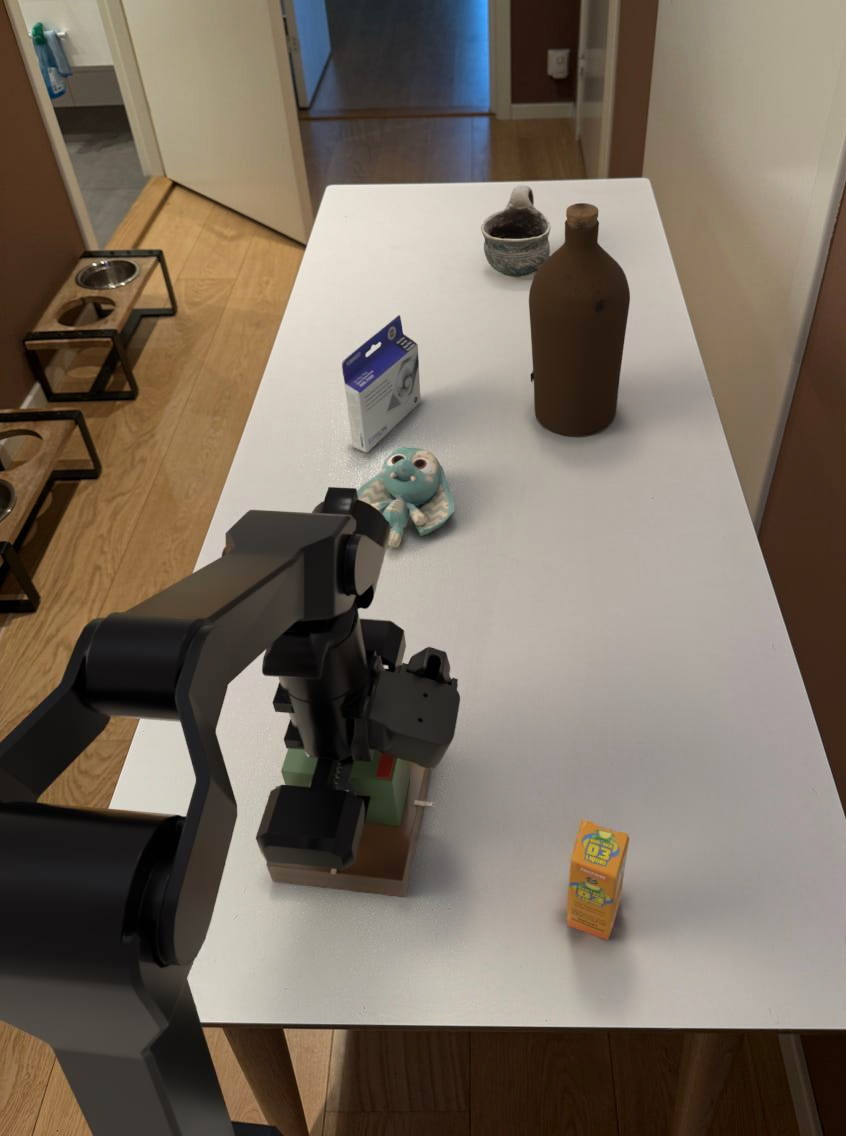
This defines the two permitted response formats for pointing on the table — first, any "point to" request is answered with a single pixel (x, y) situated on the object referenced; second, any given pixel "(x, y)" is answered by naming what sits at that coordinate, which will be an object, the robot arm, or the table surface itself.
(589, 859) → the supplement box
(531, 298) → the olive oil
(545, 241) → the mug
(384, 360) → the ink box
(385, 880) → the brown rectangular platform
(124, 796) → the table surface
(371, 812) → the green box
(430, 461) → the stuffed animal
